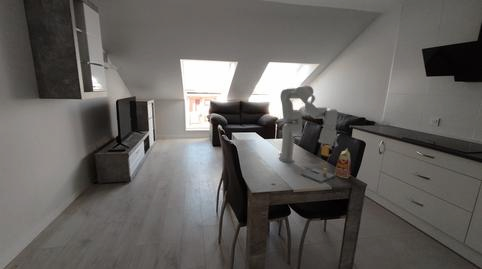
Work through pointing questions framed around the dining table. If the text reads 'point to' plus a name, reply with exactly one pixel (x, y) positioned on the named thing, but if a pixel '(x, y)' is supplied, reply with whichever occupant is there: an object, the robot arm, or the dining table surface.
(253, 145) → the dining table surface
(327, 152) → the amber toy cube
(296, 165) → the dining table surface
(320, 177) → the plate
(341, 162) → the milk carton
